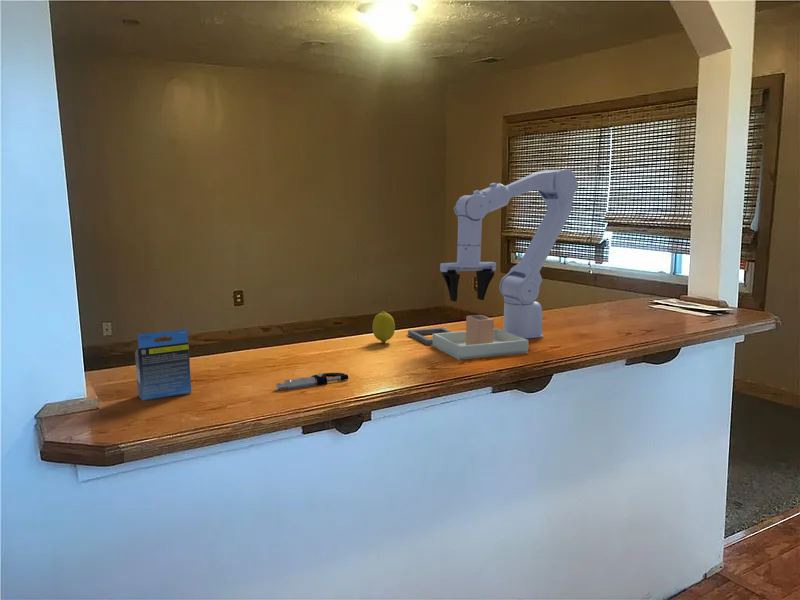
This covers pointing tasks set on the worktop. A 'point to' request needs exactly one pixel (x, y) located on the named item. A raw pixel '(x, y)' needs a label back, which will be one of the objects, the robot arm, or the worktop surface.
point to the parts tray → (480, 345)
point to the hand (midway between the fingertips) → (467, 300)
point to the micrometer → (311, 381)
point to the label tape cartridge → (163, 365)
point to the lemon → (383, 326)
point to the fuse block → (479, 329)
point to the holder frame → (418, 333)
